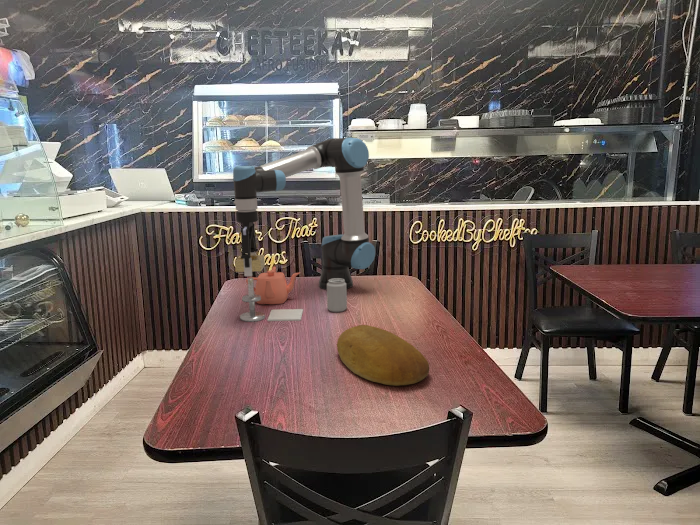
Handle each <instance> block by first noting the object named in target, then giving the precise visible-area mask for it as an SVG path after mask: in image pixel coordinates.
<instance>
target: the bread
mask: <svg viewBox="0 0 700 525" xmlns="http://www.w3.org/2000/svg"><path fill="white" fill-rule="evenodd" d="M336 349H337V354H338V355H339V358H340V360H341V362H342V363H343V364H344V365H345V366H346V367H347V368H348V370H350V371H351V372H353V374H355V375H357V376H359V377H361V378H363V379H365V380H368V381H370V382H374V383H376V384H377V383H378V384H381V385H382V384H383V385H385V386H386V385H387V386H396V387H398V386H408V385H413V384H416V383H419V382H421V381H423V380H424V379H425V378H426V377H428V375H429V373H430V364H429V361H428V360H427V358H426V357H425V356H424V355H423V353H421V352H420V351H419V350H418V349H417V348H416V347H415V346H414V345H412V344H411V343H409V342H408V341H406V340H405V339H404V338H402V337H400V336H398V335H397V334H394V333H393V332H391V331H388V330H386V329H383V328H380V327H377V326H372V325H368V324H359V325H355V326H352V327H349V328H347V329H345V330H344V331H343V332H342V333H340V335H339V336H338V338H337V343H336Z"/></svg>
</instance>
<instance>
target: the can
mask: <svg viewBox="0 0 700 525" xmlns="http://www.w3.org/2000/svg"><path fill="white" fill-rule="evenodd" d="M328 281H329V282H328V283H327V289H326V301H327V302H326V304H327V305H326V306H327V308H326V309H327V310H329V311H330V312H332V313H343V312H344V311H346V310H347V308H348V305H347V304H348V297H347V296H348V295H347V291H348V289H347V288H346V283H345V282H344V281H345V280H344V279H341V278H333V279H329V280H328Z"/></svg>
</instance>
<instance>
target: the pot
mask: <svg viewBox="0 0 700 525" xmlns="http://www.w3.org/2000/svg"><path fill="white" fill-rule="evenodd" d="M300 274H301V272H294V273H293V274H292V275H291V276H290V281H289V283H287V279H286V275H285V274H284V272H282V271H281V272H280V271H278V272H277V268H276V266H272V268H271V270H267V271H266V272H261V273H260V274H259V275H258V276H257V277H254V276H249V277H247V278H246V279H245V283H246V284H247V286H248V278H253V281H256V284H255V287H254V294H255V295H260V296H261V300H260V301H257V302H256V303H257V304H258V305H280V304H281V305H282V304H284V303H286V302H287V299H288V296H289V293H291V292H292V291H293V290H294V286H295V280H296V278H297V276H298V275H300Z"/></svg>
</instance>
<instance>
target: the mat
mask: <svg viewBox="0 0 700 525" xmlns="http://www.w3.org/2000/svg"><path fill="white" fill-rule="evenodd" d="M303 313H304V308H295V309H294V308H289V309H285V308H284V309H283V308H282V309H276V308H275V309H271V311H270V312H269V316H268V317H267V322H286V321H287V322H294V321H296V322H297V321H302V316H303Z"/></svg>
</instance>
